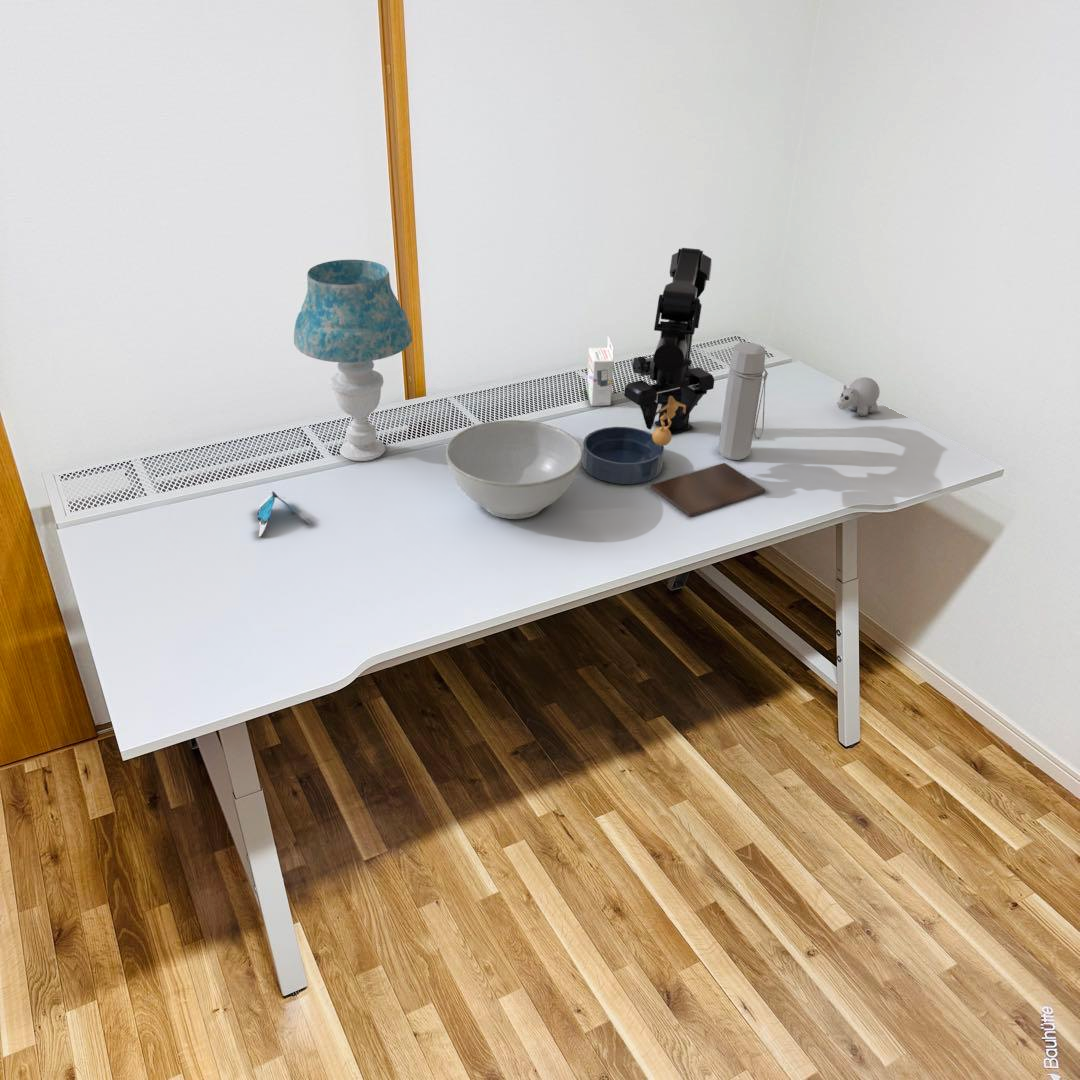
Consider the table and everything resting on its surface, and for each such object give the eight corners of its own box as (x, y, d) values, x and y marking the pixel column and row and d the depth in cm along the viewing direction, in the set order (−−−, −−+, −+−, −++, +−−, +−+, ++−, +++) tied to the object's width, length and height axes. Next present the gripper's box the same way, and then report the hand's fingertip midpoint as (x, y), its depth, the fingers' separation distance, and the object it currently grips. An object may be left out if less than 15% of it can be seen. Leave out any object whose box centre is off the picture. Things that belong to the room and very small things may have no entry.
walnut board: (724, 465, 215) (724, 462, 214) (764, 492, 205) (765, 489, 205) (650, 488, 206) (650, 484, 205) (689, 517, 196) (689, 513, 196)
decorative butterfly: (293, 482, 196) (306, 493, 188) (299, 512, 198) (312, 525, 190) (242, 493, 192) (253, 505, 184) (249, 524, 194) (260, 537, 186)
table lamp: (405, 421, 229) (395, 249, 207) (428, 470, 210) (420, 286, 188) (300, 434, 222) (279, 258, 200) (315, 485, 203) (293, 296, 181)
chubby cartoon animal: (823, 412, 239) (830, 379, 234) (859, 402, 244) (866, 370, 239) (845, 423, 233) (852, 390, 229) (881, 413, 239) (889, 381, 234)
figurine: (672, 437, 210) (678, 385, 203) (688, 449, 205) (694, 397, 198) (639, 444, 206) (643, 391, 200) (653, 457, 202) (659, 403, 195)
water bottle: (713, 458, 217) (727, 351, 204) (721, 443, 223) (736, 338, 210) (754, 466, 215) (772, 359, 201) (761, 451, 221) (779, 345, 207)
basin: (630, 440, 224) (632, 420, 221) (677, 473, 211) (680, 452, 209) (567, 457, 216) (568, 437, 213) (611, 492, 204) (613, 471, 201)
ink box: (585, 391, 245) (588, 335, 237) (605, 391, 246) (609, 334, 238) (590, 406, 238) (594, 348, 230) (611, 406, 238) (615, 348, 230)
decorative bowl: (516, 458, 215) (517, 408, 208) (607, 505, 199) (611, 452, 193) (420, 500, 199) (417, 447, 192) (510, 555, 183) (511, 499, 177)
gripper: (686, 331, 204) (678, 400, 213) (611, 347, 196) (606, 418, 205) (720, 350, 196) (710, 420, 205) (643, 367, 188) (637, 440, 197)
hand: (665, 424), depth 203 cm, fingers closed on figurine, 8 cm apart
